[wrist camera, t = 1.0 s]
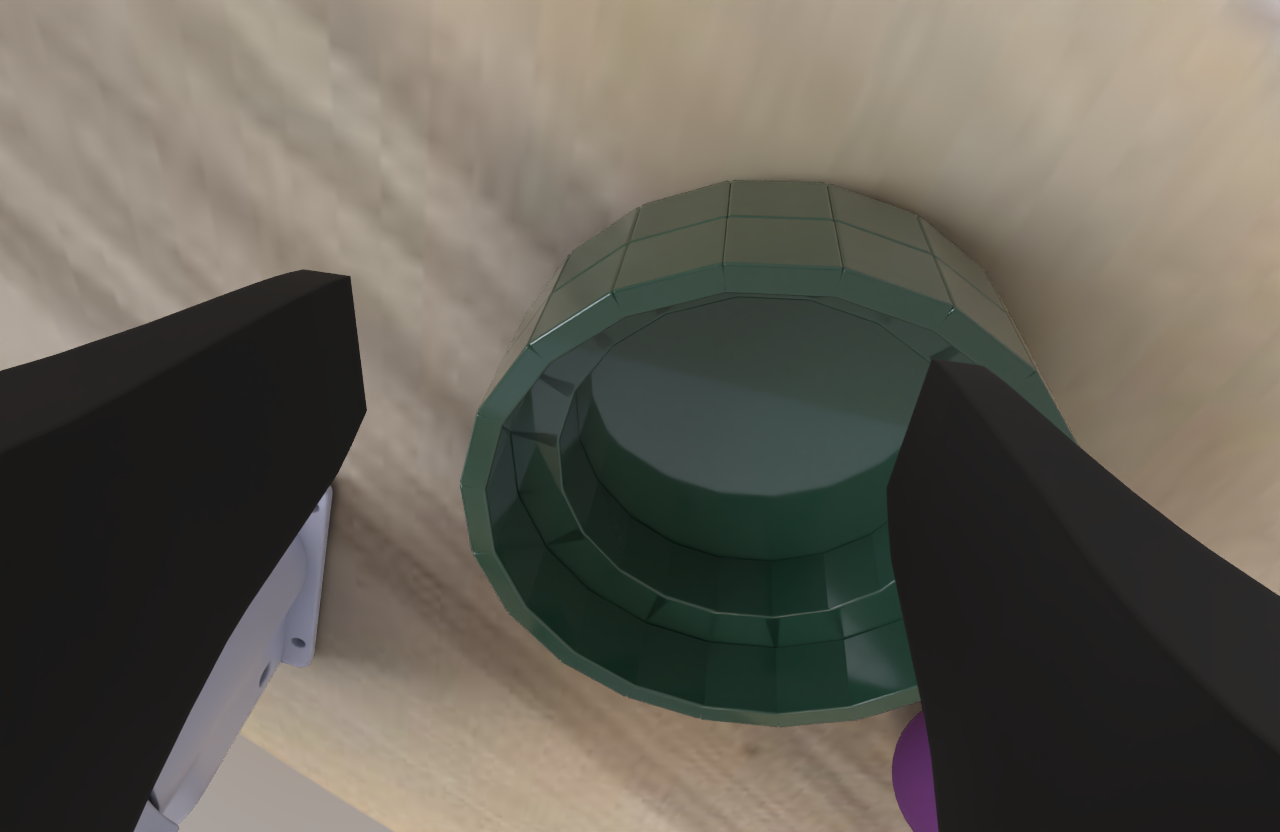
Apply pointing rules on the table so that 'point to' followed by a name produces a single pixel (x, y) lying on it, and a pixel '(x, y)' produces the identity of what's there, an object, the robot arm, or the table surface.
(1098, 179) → the table surface
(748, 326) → the bowl
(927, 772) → the ball
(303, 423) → the robot arm
